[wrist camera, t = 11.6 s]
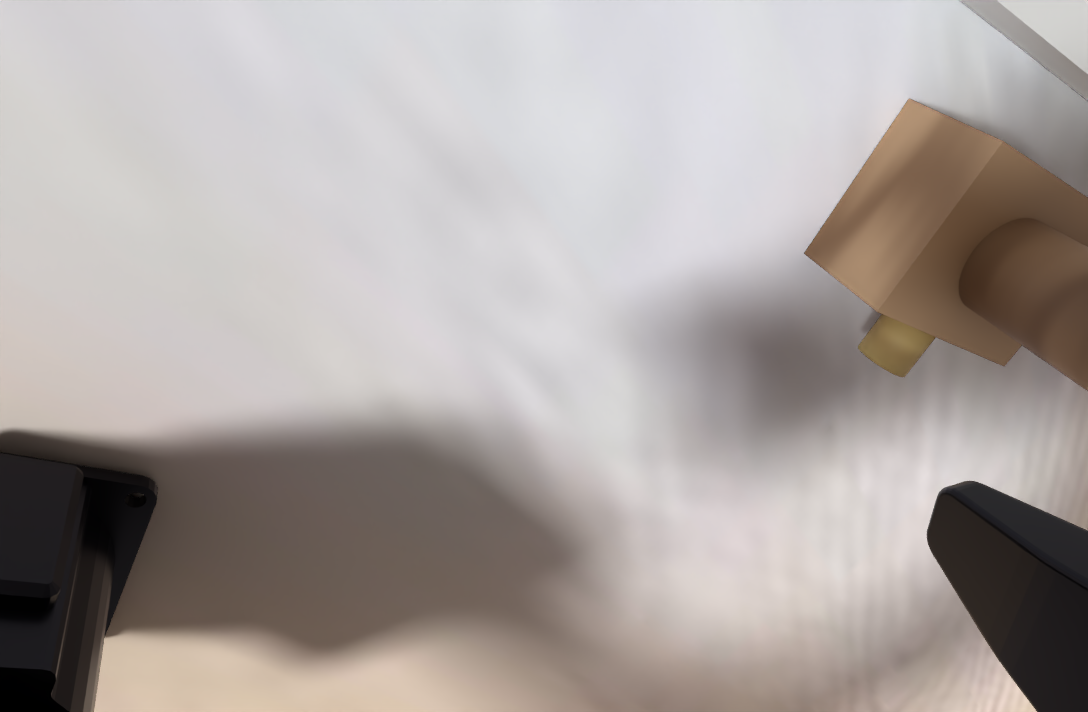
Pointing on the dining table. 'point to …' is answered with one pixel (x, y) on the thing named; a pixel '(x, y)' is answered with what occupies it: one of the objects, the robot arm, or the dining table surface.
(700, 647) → the dining table surface
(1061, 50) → the board
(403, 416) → the dining table surface
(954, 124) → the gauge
